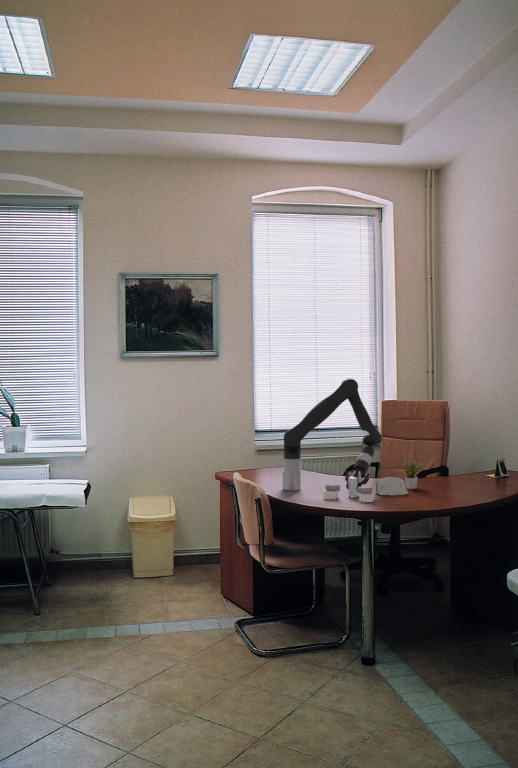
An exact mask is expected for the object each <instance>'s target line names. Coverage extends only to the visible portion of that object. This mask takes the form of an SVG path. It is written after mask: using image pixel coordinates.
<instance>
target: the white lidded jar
mask: <svg viewBox="0 0 518 768" xmlns="http://www.w3.org/2000/svg"><path fill="white" fill-rule="evenodd" d="M324 488H325V489H324V490H323V500H331V499H335V500H337V499H338V498H339V492H340V491H341V485H339V484H325V487H324ZM336 498H337V499H336Z"/></svg>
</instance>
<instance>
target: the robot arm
mask: <svg viewBox="0 0 518 768" xmlns="http://www.w3.org/2000/svg"><path fill="white" fill-rule="evenodd" d="M345 401H348V402H349V404H350V406H351V408H352V411H353V413H354V416H355V419H356V421H357V423H358V425H359V428H360V430H362V431H363V432H367V433H366V434H365V435H364V436H363V438H362V442H361V449H360V451H359V454H358V455H357V458H356V460H355V463H354V465H353V469H352V470H351V471H349V470H347V471H346V473H345V478H344V481H345V482H346V485H345V488H346V489H347V490H349V480H348V478H349V477H359V483H358V485H357V487H356V489H357V488H358V487H363V485H365V486H366V485H367V483H368V482H369V480H370V479H371V477H372V476H371V474H370V472H369V473H368V471H369V469H370V467H371V463H372V459H373V458H374V455H375V454H374V453H375V449H374V446H378V445H380V444H381V443H382V441H383V437H382V434H381V432H380V431H379V430H378V429H377V427H376V426H375V425H374V423H373V421H372V419H371V417H370V414H369V412H368V410H367V408H366V407H365V405H364V402H363V401H362V399H361V397H360V393H359V384H358V381H357V380H355V379H354V378H350V377H349V378H345V379H344V380H342V382H341V383H340V385H339V386H338V387H337V389H336V390H334V392H332V393H331V394H330V395H328V396H327V397H325V398H324V399H322V400H320V401H319V402H318V403H317V404H316V405H315V406H313V407H312V408H311V409H310V410H309V411H308V412H307V414H306V415H305V416H304V417H303V418H302V420H301V421H300V422H299V423H298V424H296V425H295V426H294V427H292V428H290V429H287V430H286V431H285V432H284V434H283V471H282V490H285V491H292V492H293V491H300V490H301V487H302V484H301V482H302V481H301V479H302V477H301V476H302V474H301V473H302V472H301V469H302V468H301V465H302V464H301V463H302V461H301V459H302V458H301V456H302V454H301V450H302V449H301V448H302V447H301V443H302V442H301V441H303V439H304V438H305V437H306V436H307V435H308V434H309V433H310V432H312V431H313V430H314V429H315V428H317V427H318V426H319V425H321V424H323V422H324V421H326V419H328V418H330V416H331V415H332V414H333V413H334V412H335V411H336V410H337V409H338V408H339V406H340V405H342V404H343V403H344V402H345Z"/></svg>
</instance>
